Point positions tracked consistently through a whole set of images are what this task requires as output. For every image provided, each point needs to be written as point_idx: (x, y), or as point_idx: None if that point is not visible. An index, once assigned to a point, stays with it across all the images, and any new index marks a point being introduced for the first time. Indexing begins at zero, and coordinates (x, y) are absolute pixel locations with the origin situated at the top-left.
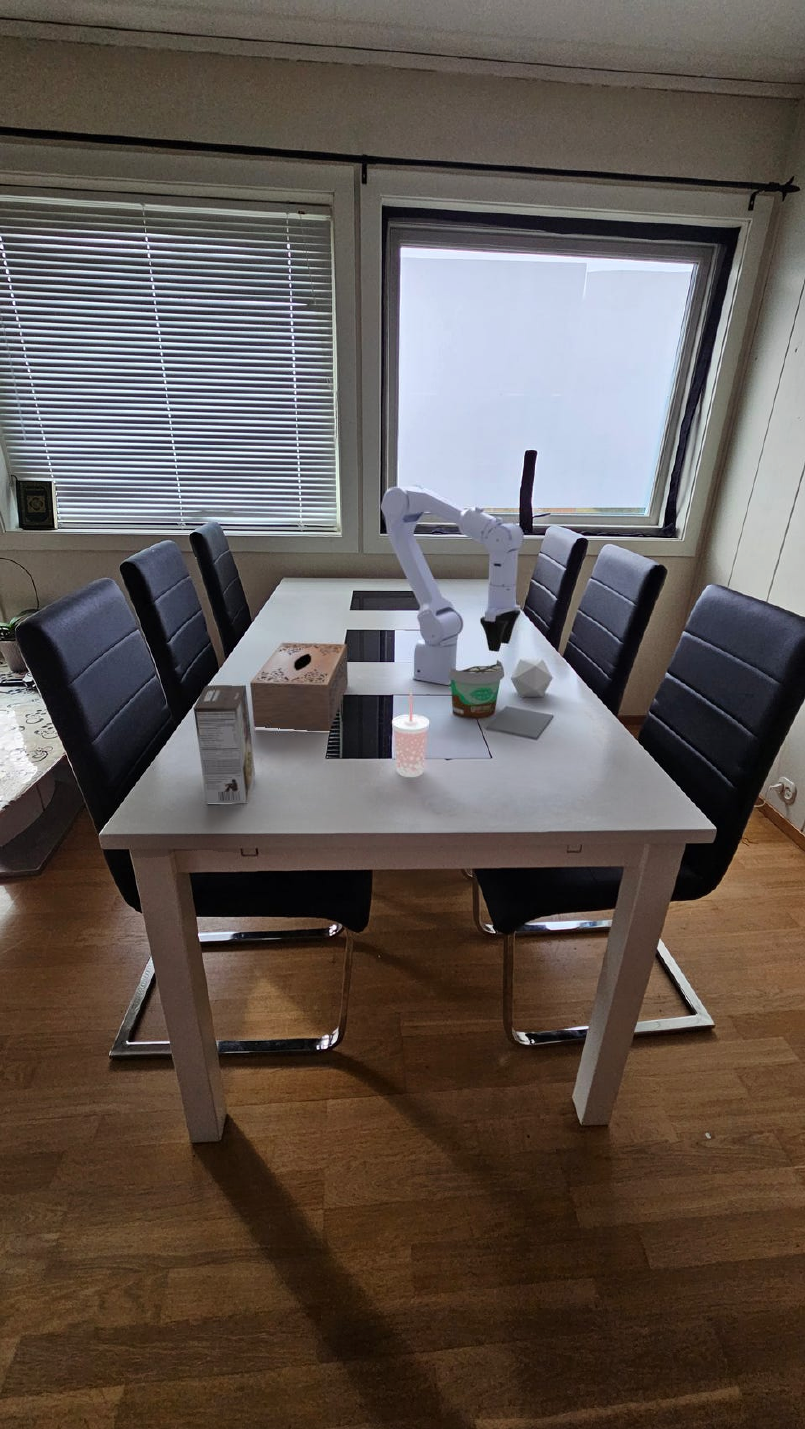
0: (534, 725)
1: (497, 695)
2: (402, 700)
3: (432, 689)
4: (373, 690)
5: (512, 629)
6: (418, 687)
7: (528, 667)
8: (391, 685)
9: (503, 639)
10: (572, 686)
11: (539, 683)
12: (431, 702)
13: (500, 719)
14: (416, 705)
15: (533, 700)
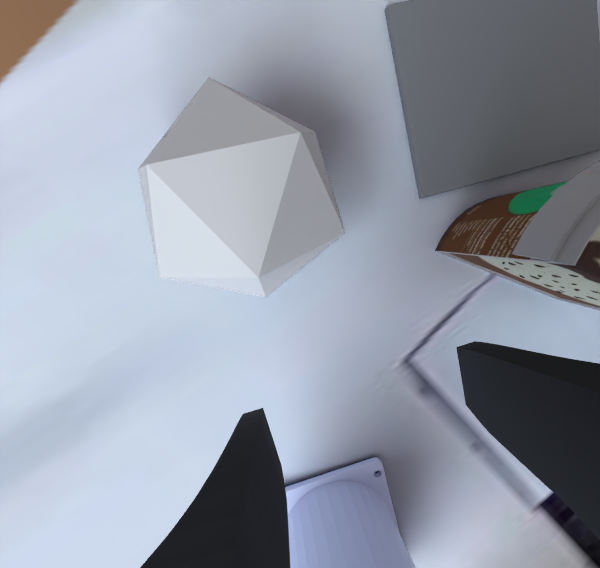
0: (513, 17)
1: (525, 193)
2: None
3: (433, 467)
4: (540, 561)
5: (216, 484)
6: (446, 504)
7: (307, 181)
8: (481, 561)
9: (273, 460)
10: (10, 108)
11: (291, 120)
12: None
13: (534, 144)
14: None
15: None
